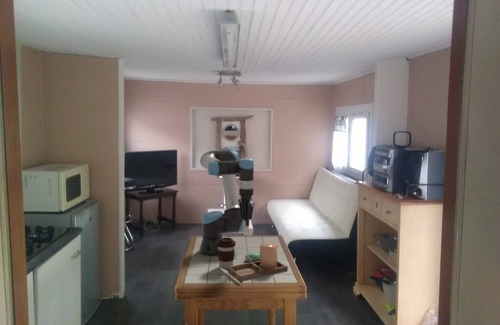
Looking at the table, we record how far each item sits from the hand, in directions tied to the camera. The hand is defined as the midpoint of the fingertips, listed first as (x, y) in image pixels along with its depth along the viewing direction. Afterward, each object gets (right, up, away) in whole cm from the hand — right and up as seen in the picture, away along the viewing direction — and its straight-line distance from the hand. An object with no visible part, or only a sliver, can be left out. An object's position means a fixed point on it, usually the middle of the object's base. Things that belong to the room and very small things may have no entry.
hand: (246, 231), depth 205 cm
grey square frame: (+5, -18, +3) cm, 19 cm away
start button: (+5, -16, +3) cm, 17 cm away
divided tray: (+6, -19, -10) cm, 22 cm away
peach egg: (+12, -18, -7) cm, 22 cm away
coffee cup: (-10, -19, -2) cm, 21 cm away
